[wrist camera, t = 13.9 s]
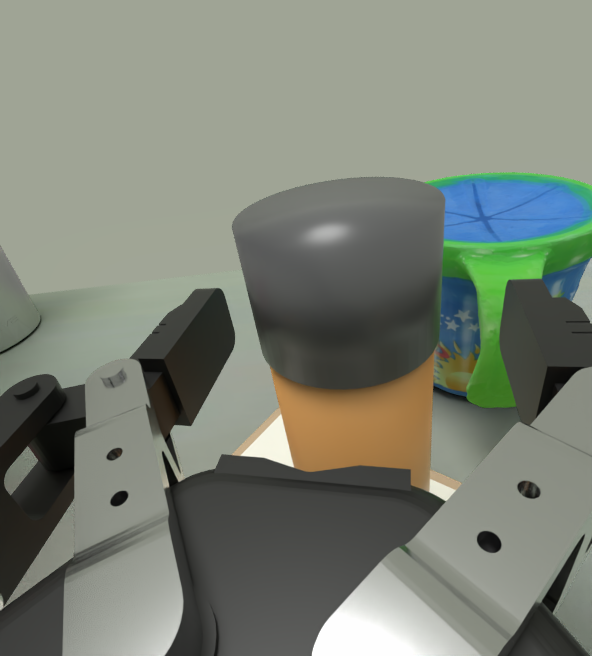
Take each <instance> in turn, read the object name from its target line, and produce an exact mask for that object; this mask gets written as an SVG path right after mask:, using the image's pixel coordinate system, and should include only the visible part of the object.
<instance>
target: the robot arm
mask: <svg viewBox="0 0 592 656" xmlns="http://www.w3.org/2000/svg"><path fill="white" fill-rule="evenodd" d="M39 322H40V315H39V313H38V311H37V309H36V308H35V306H34V304H33V302H32V300H31V299H30V297H29V295H28V294H27V292H26V290H25V288H24V287H23V285H22V283H21V281H20V279H19V277H18V275H17V274H16V272H15V270H14V268H13V267H12V265H11V263H10V262H9V260H8V258H7V256H6V254H5V253H4V251H3V249H2V247H1V246H0V352H1V351H3V350H5V349H7V348H9V347H11V346H13V345H14V344H16V343H18V342H19V341H21V340H22V339H23V338H25V337H26V336H28V335H29V334H30V333H31V332H32V331H33V330H34V329H35V328H36V327H37V326H38V324H39ZM499 343H500V351H501V355H502V359H503V362H504V365H505V369H506V372H507V376H508V379H509V382H510V386H511V389H512V393H513V396H514V399H515V403H516V406H517V410H518V413H519V416H520V420H521V422H518V423H516V424H515V425H514V426H513V427H512V428H511V429H510V430H509V432H508V433H507V434H506V435H505V436H504V437H503V438H502V439H501V440H500V442H499V443H498V444H497V445H496V446H495V447H494V448H493V449H492V451H491V452H490V453H489V454H488V455H487V456H486V457H485V458H484V460H483V461H482V462H481V463H480V464H479V465H478V466H477V467H476V468H475V470H474V471H473V472H472V473H471V474H470V475H469V476H468V477H467V479H466V480H465V481H464V482H463V483H462V484H461V485H460V486H459V488H458V489H457V490H456V491H455V492H454V493H453V494H452V495H451V496H450V498H449V499H448V500H447V501H445V500H443V499H441V498H440V497H438V496H436V495H434V494H433V493H430V492H428V491H426V490H424V489H421V488H418V487H415V486H412V485H411V469H400V468H388V467H375V466H362V465H359V466H351V467H344V468H337V469H329V470H322V471H315V472H306V471H302V470H299V469H296V468H293V467H290V466H287V465H284V464H281V463H278V462H275V461H272V460H269V459H267V458H262V457H249V456H236V455H224V454H222V455H221V457H220V459H219V462H218V464H217V466H216V469H213V470H208V471H204V472H200V473H198V474H195V475H192V476H190V477H187V478H185V477H184V473H183V470H182V466H181V463H180V459H179V455H178V452H177V448H176V445H175V441H174V438H173V436H172V434H171V429H172V428H173V426H174V425H184V426H191V425H192V423H193V422H194V420H195V418H196V416H197V414H198V412H199V411H200V409H201V407H202V405H203V403H204V401H205V400H206V398H207V396H208V394H209V392H210V391H211V389H212V387H213V385H214V383H215V381H216V380H217V378H218V376H219V374H220V372H221V370H222V369H223V367H224V365H225V363H226V361H227V360H228V358H229V356H230V354H231V352H232V350H233V348H234V344H235V332H234V328H233V324H232V320H231V317H230V313H229V310H228V306H227V303H226V299H225V296H224V293H223V291H222V290H221V289H219V288H211V289H196V290H194V291H193V292H192V294H191V295H190V296H189V297H188V299H187V300H186V301H185V302H184V303H183V305H180V306H178V307H177V308H175V309H174V310H172V311H171V312H170V313H168V314H167V315H166V316H165V317H164V319H163V320H162V321H161V322H160V323H159V326H157V327H156V328H155V329H154V330H153V332H152V334H150V335H149V336H148V337H147V339H146V340H145V341H144V342H143V343H142V344H141V346H140V347H139V348H138V349H137V350H136V352H135V353H134V354H133V355H132V356H131V357H130V359H120V360H115V361H112V362H110V363H107V364H105V365H103V366H101V367H100V368H98V369H97V370H95V371H94V372H93V373H92V374H91V375H90V376H89V377H88V379H87V380H86V383H85V384H83V385H78V386H74V387H69V388H64V389H62V388H61V386H60V384H59V383H58V381H57V379H56V378H55V377H54V376H52V375H49V374H43V375H36V376H33V377H30V378H27V379H25V380H23V381H21V382H19V383H17V384H15V385H14V386H12V387H11V388H9V389H8V390H7V391H6V392H5V393H4V394H3V395H2V396H0V656H590V655H589V654H588V653H587V652H586V651H585V650H584V649H583V647H582V646H581V645H580V644H579V643H578V642H577V641H576V640H575V638H574V637H573V636H572V635H571V634H570V633H569V632H568V630H567V629H566V628H565V627H564V626H563V625H562V624H561V623H560V621H559V620H558V619H557V618H556V617H555V614H556V612H557V610H558V609H559V607H560V605H561V603H562V602H563V600H564V598H565V596H566V594H567V592H568V590H569V589H570V587H571V585H572V583H573V581H574V579H575V577H576V575H577V573H578V571H579V569H580V567H581V565H582V564H583V562H584V560H585V558H586V557H587V555H588V553H589V552H590V550H591V548H592V324H590V320H589V319H588V317H587V316H586V314H585V313H584V311H583V309H582V308H581V307H579V306H578V305H576V304H575V303H573V302H572V301H570V300H568V299H567V298H565V297H553V298H552V296H551V294H550V292H549V290H548V289H547V287H546V285H545V283H544V281H543V280H542V279H512V280H508V282H507V284H506V289H505V296H504V303H503V310H502V318H501V325H500V334H499ZM27 446H28V447H29V448H30V449H31V451H32V452H33V454H34V455H35V456H36V458H37V459H38V460H39V461H38V462H37V464H36V465H35V466H34V467H33V469H32V470H31V471H30V472H29V474H28V475H27V476H26V477H25V479H24V480H23V481H22V482H21V484H20V485H19V486H18V487H17V489H16V490H15V491H14V492H13V494H12V495H11V496H10V494H9V493H8V492H7V491H6V489H5V486H4V478H5V474H6V472H7V470H8V468H9V467H10V466H11V465H12V464H13V462H14V461H15V460H16V459H17V458H18V456H19V455H20V454H21V453H22V452H23V451H24V449H25V448H26V447H27ZM73 500H74V557H73V558H72V559H70V560H69V561H68V562H66V563H65V564H64V565H62V566H61V567H59V568H58V569H57V570H55V571H54V572H53V573H51V574H50V575H48V576H47V577H46V578H44V579H43V580H42V581H40V582H39V583H37V584H36V585H35V586H33V587H32V588H31V589H29V590H28V591H27V592H25V593H24V594H22V595H21V596H20V597H18V598H17V599H16V600H14V601H13V602H11V603H10V604H9V605H7V606H6V607H5V608H3V607H4V605H5V604H6V602H7V601H8V599H9V598H10V596H11V595H12V593H13V592H14V590H15V588H16V587H17V585H18V584H19V582H20V581H21V579H22V578H23V576H24V575H25V573H26V572H27V570H28V569H29V567H30V565H31V564H32V562H33V561H34V559H35V558H36V556H37V555H38V553H39V552H40V550H41V549H42V547H43V546H44V544H45V542H46V541H47V539H48V538H49V536H50V535H51V533H52V532H53V530H54V529H55V527H56V526H57V524H58V523H59V521H60V519H61V518H62V516H63V515H64V513H65V512H66V510H67V509H68V507H69V506H70V504H71V503H72V501H73Z"/></svg>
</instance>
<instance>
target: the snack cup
mask: <svg viewBox="0 0 592 656" xmlns="http://www.w3.org/2000/svg"><path fill="white" fill-rule="evenodd" d="M424 183H427V184H430V185H432V186H434V187H436V188H437V189H439V190H440V191H441V192H442V193H443V194H444V197H445V221H444V244H443V268H442V291H441V315H440V335H439V341H438V344H437V347H436V348H435V350H434V377H433V385H434V386H436V387H438V388H440V389H442V390H444V391H447V392H449V393H453V394H456V395H462V396H466V397H467V400H468V401H470V402H471V403H473V404H475V405H477V406H480V407H482V408H495V407H503V408H508V407H516V403H515V399H514V396H513V393H512V389H511V386H510V382H509V379H508V376H507V372H506V369H505V365H504V362H503V359H502V355H501V351H500V343H499V334H500V325H501V318H502V310H503V303H504V296H505V289H506V284H507V282H508V280H512V279H542V280H543V281H544V283H545V285H546V287H547V289H548V290H549V292H550V294H551V296H552V298H553V297H565V298H567V299H568V300H570V301H572V300H573V298H574V296H575V293H576V291H577V289H578V286H579V282H580V279H581V277H582V275H583V273H584V271H585V268H586V266H587V264H588V262H589V261H590V259H591V258H592V186H591V185H589V184H586V183H583V182H580V181H576V180H572V179H568V178H564V177H557V176H551V175H542V174H541V175H540V174H532V173H514V172H512V173H481V174H470V175H461V176H453V177H447V178H442V179H437V180H432V181H428V182H424Z"/></svg>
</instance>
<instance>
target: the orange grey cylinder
mask: <svg viewBox="0 0 592 656" xmlns="http://www.w3.org/2000/svg"><path fill="white" fill-rule="evenodd" d="M444 221H445V197H444V194H443V193H442V192H441V191H440V190H439V189H437V188H436V187H434V186H432V185H430V184H427V183H424V182H420V181H416V180H410V179H403V178H394V177H361V178H347V179H338V180H331V181H325V182H319V183H314V184H309V185H305V186H300V187H296V188H293V189H289V190H286V191H282V192H279V193H276V194H274V195H271V196H269V197H266V198H264V199H262V200H259V201H258V202H256V203H254V204H252V205H250V206H249V207H247V208H245V209H244V210H243V211H242V212H241V213H239V214H238V215H237V217H236V218H235V219H234V221H233V224H232V230H233V234H234V238H235V242H236V246H237V250H238V254H239V259H240V262H241V267H242V271H243V275H244V279H245V283H246V287H247V291H248V296H249V300H250V304H251V308H252V312H253V316H254V320H255V324H256V329H257V333H258V337H259V341H260V345H261V349H262V353H263V356H264V358H265V360H266V361H267V363H268V364H269V365H270V369H271V373H272V377H273V381H274V385H275V390H276V394H277V398H278V402H279V407H280V411H281V415H282V419H283V424H284V428H285V432H286V436H287V441H288V445H289V449H290V453H291V458H292V462H293V466H294V468H296V469H299V470H302V471H306V472H315V471H322V470H329V469H337V468H344V467H351V466H359V465H362V466H375V467H388V468H400V469H411V485H412V486H415V487H418V488H421V489H424V490H426V491H428V492H429V490H430V462H431V434H432V405H433V377H434V350H435V348H436V347H437V344H438V341H439V335H440V315H441V291H442V268H443V244H444Z"/></svg>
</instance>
